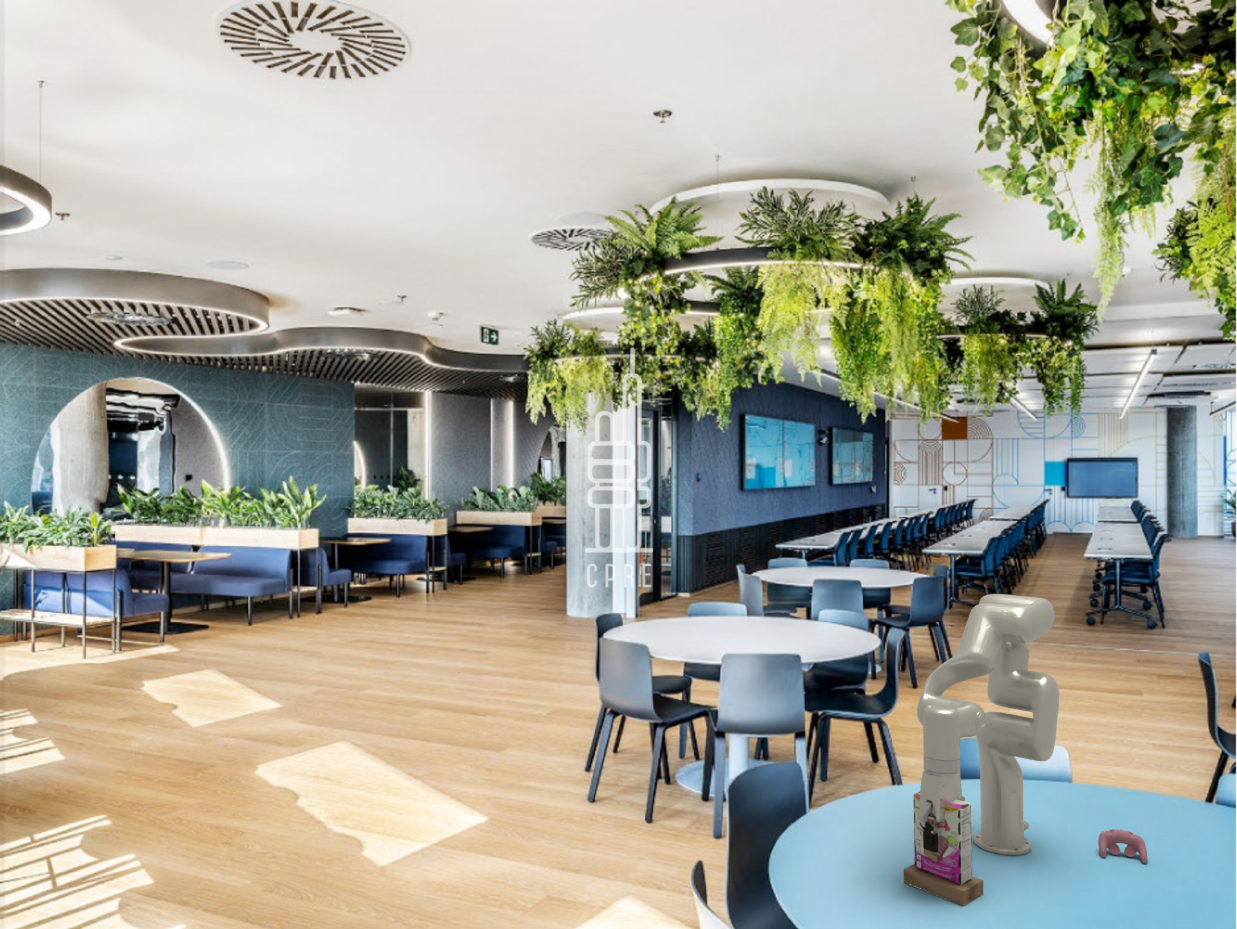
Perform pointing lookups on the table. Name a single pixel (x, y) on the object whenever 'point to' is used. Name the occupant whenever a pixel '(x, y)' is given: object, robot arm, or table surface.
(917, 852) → the candy bar box
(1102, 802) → the table surface
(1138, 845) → the video game controller
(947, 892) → the walnut base
